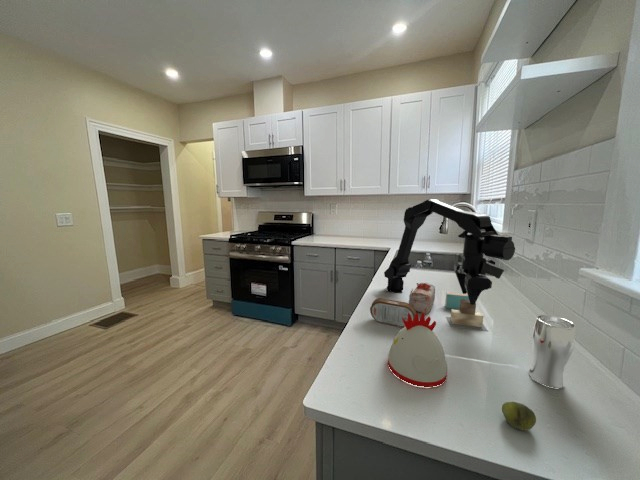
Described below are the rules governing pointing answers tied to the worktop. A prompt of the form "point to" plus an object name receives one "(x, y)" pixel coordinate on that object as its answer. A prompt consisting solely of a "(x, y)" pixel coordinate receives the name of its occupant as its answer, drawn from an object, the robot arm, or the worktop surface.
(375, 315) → the tin
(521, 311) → the worktop surface
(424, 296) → the food item
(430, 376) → the kitchen timer
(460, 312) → the cream brown stepped block
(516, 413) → the lime
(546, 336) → the beer glass
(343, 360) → the worktop surface
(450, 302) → the tile
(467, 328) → the pad
